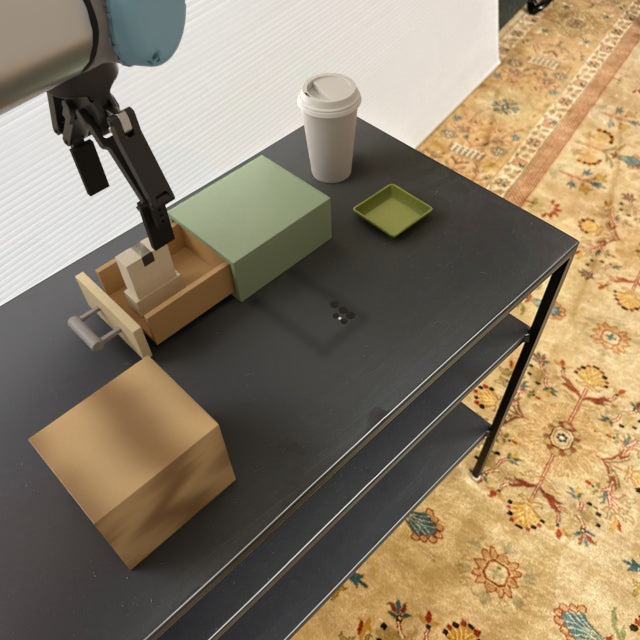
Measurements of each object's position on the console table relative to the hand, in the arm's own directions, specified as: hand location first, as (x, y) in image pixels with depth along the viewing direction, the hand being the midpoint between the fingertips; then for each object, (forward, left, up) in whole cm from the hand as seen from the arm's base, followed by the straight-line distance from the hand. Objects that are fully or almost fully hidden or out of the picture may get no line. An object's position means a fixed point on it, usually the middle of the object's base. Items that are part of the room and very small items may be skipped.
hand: (129, 215), depth 76 cm
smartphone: (+14, -13, -17) cm, 26 cm away
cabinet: (+17, 0, -16) cm, 23 cm away
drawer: (-1, 0, -15) cm, 16 cm away
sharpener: (0, 0, -14) cm, 14 cm away
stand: (-16, -21, -16) cm, 31 cm away
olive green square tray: (+35, -11, -17) cm, 40 cm away
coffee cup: (+37, +4, -17) cm, 41 cm away
